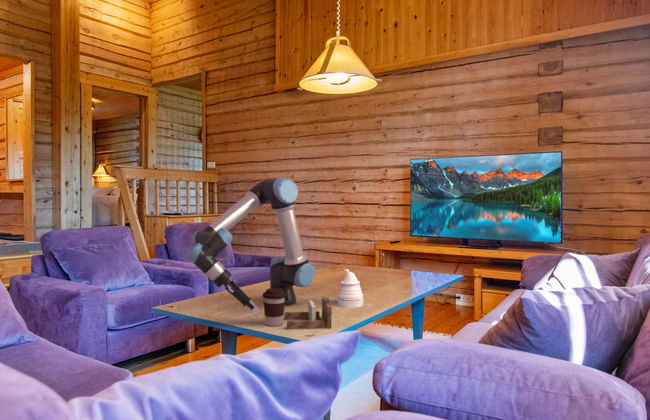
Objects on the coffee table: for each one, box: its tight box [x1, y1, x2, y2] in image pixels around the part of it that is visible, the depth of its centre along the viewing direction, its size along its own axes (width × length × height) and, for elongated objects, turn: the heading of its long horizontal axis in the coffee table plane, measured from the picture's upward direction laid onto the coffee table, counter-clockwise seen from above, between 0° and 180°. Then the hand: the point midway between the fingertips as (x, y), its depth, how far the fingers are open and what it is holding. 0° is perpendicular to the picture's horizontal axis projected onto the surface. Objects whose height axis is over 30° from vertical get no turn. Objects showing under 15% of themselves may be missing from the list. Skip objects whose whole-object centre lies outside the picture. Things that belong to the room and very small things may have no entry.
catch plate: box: [308, 299, 317, 320], centre depth 200 cm, size 2×12×8 cm, turn 8°
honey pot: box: [337, 268, 364, 309], centre depth 234 cm, size 13×13×18 cm
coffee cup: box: [262, 287, 286, 327], centre depth 197 cm, size 10×10×15 cm
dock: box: [284, 297, 333, 330], centre depth 199 cm, size 19×17×10 cm
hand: (258, 313), depth 196 cm, fingers closed
